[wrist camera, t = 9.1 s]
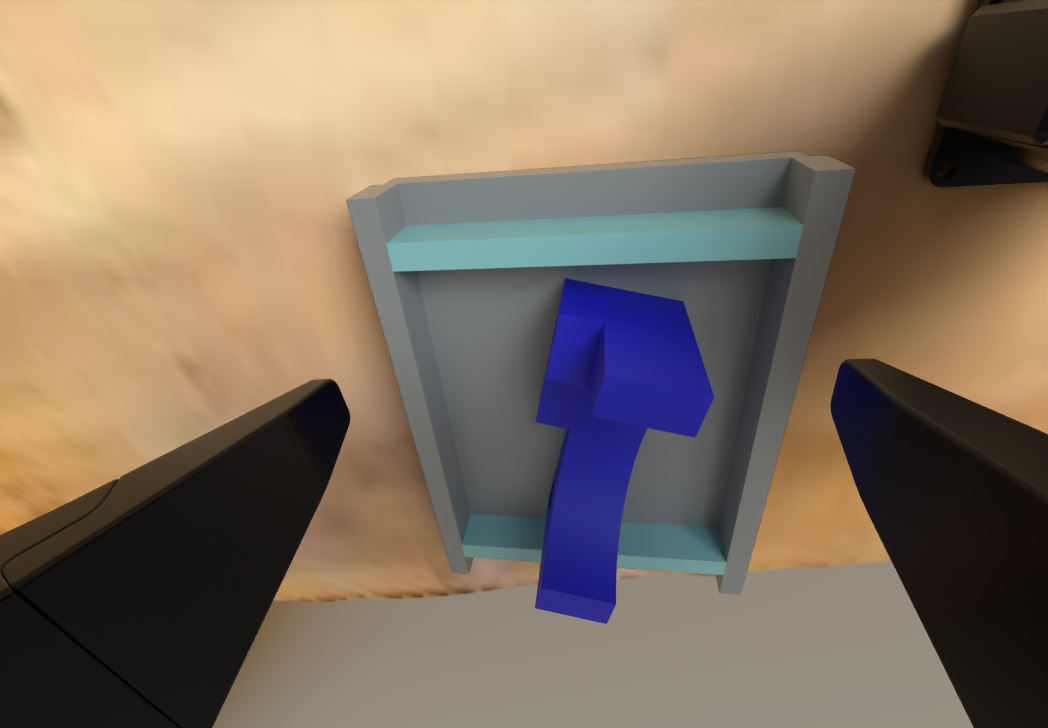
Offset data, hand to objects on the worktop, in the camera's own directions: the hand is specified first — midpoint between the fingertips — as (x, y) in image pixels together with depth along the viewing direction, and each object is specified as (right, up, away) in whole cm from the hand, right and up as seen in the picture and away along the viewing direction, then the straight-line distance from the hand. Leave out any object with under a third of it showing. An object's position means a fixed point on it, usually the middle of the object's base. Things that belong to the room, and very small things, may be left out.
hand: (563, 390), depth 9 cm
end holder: (+2, -1, +13) cm, 14 cm away
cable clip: (+2, -1, +13) cm, 13 cm away
